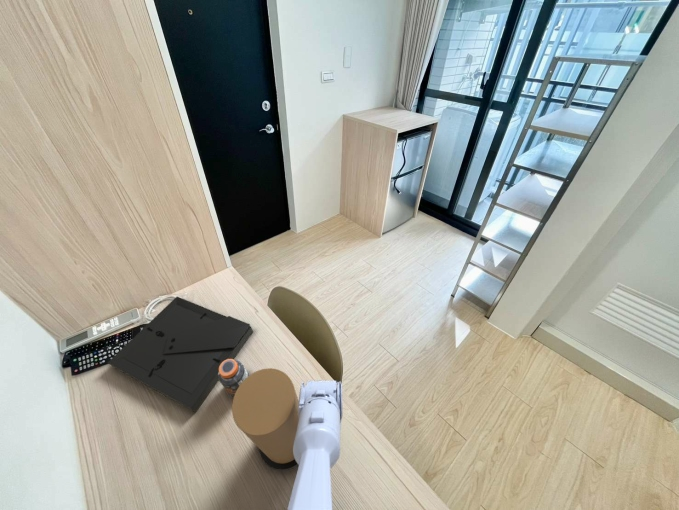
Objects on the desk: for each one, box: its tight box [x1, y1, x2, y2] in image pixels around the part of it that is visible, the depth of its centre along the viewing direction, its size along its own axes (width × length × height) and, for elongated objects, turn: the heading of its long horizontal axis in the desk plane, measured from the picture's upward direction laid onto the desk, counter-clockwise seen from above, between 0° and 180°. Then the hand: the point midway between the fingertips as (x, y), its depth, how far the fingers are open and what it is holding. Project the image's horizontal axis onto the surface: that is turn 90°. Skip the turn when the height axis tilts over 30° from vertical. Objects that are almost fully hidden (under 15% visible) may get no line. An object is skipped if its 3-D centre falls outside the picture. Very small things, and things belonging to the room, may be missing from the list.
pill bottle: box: [218, 359, 250, 398], centre depth 65 cm, size 6×6×11 cm
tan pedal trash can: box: [231, 367, 299, 463], centre depth 52 cm, size 10×16×24 cm, turn 96°
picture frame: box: [107, 296, 254, 413], centre depth 75 cm, size 23×4×28 cm
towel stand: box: [258, 448, 299, 472], centre depth 61 cm, size 12×12×1 cm
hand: (326, 437), depth 57 cm, fingers closed
